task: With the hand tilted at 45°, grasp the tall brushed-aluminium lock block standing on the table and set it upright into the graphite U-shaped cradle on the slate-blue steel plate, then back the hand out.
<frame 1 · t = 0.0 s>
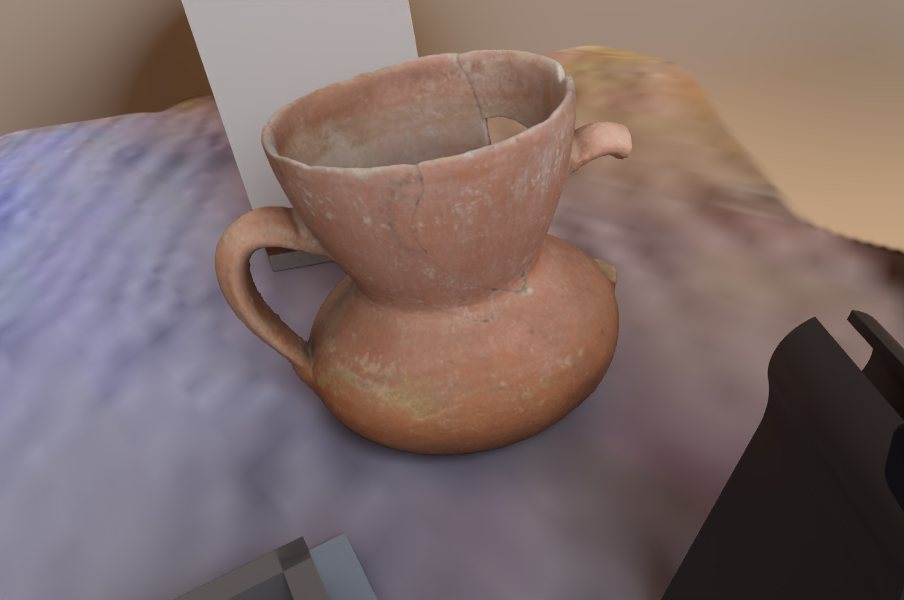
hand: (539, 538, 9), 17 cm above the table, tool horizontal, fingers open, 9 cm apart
ceramic jug: (457, 381, 37), on the table
display case: (362, 219, 52), on the table
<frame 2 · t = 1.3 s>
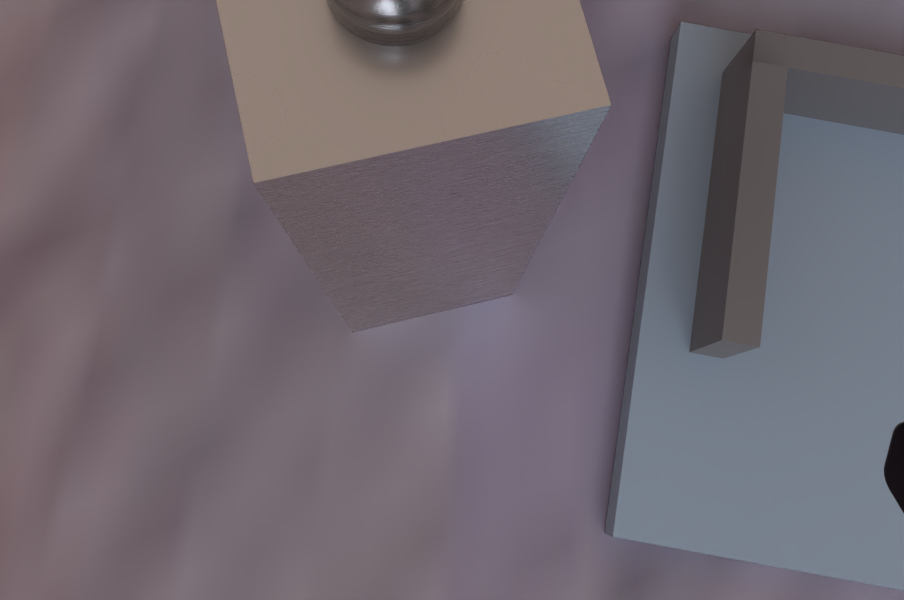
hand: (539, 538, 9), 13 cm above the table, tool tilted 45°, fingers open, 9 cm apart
coupler cradle: (846, 306, 23), on the table
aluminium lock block: (413, 236, 23), on the table
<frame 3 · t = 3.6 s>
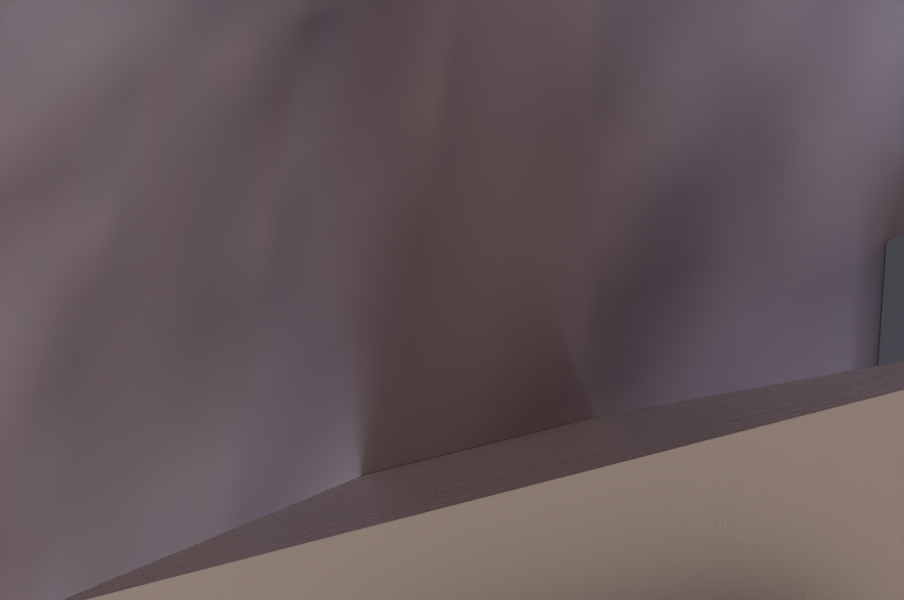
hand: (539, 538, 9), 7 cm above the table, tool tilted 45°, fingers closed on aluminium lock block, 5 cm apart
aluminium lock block: (510, 569, 15), on the table, touching gripper
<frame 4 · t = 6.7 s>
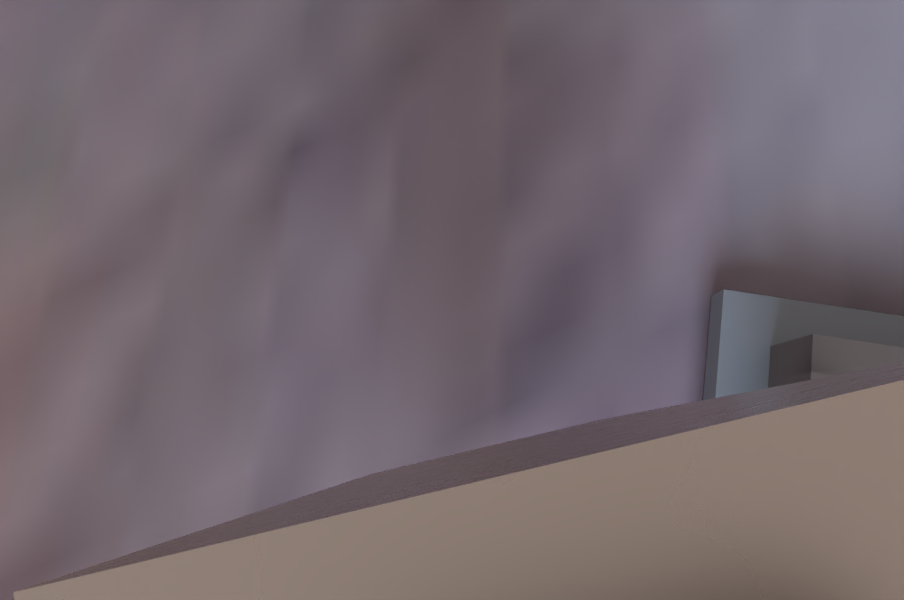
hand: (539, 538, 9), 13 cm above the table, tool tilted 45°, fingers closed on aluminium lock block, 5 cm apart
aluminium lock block: (518, 569, 15), point 7 cm above the table, touching gripper
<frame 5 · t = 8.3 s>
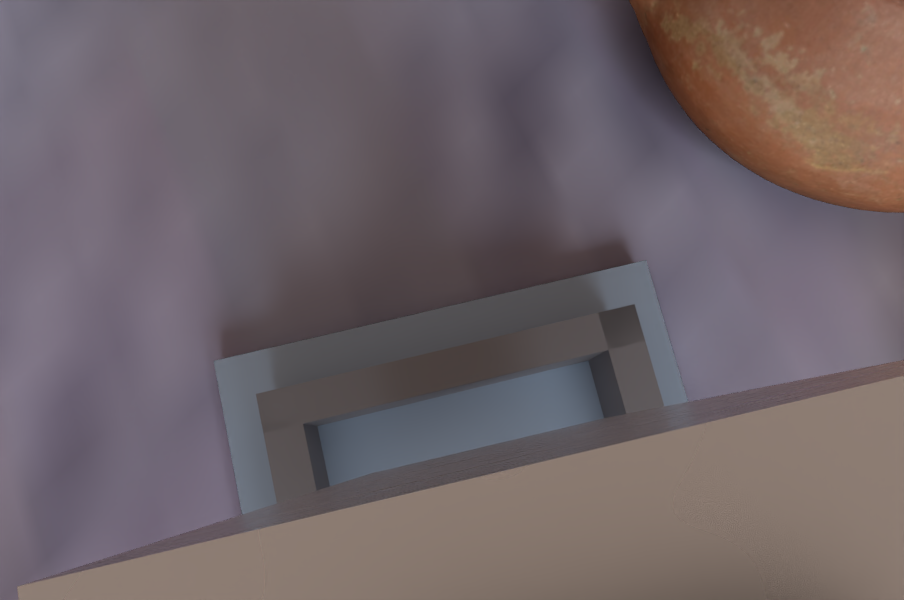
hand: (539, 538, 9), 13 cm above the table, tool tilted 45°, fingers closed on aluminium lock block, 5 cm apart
coupler cradle: (498, 582, 22), on the table
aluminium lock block: (518, 568, 15), point 7 cm above the table, touching gripper
ceramic jug: (808, 33, 26), on the table
when the fingers open (9 cm above the table, at t = 9.8 s): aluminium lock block drops 1 cm, resting on coupler cradle.
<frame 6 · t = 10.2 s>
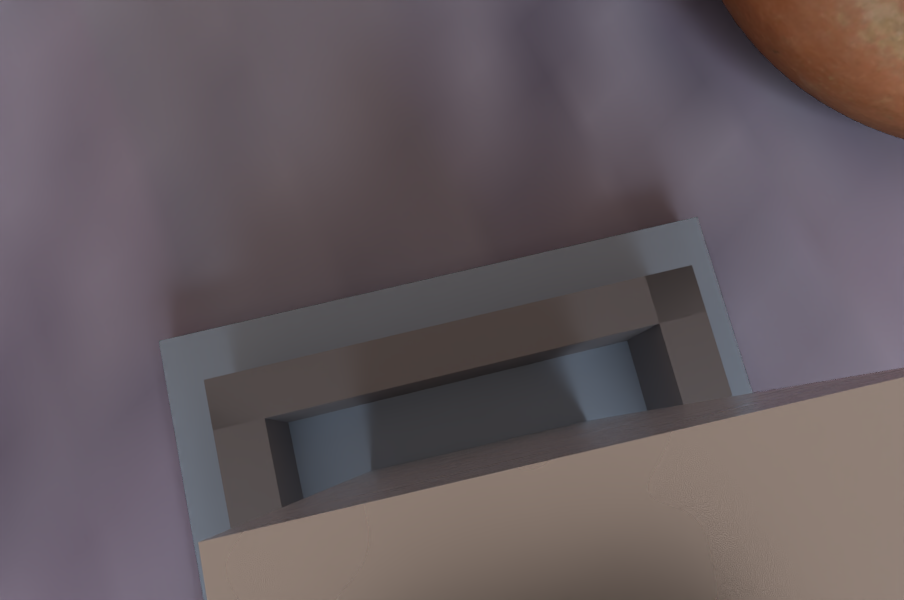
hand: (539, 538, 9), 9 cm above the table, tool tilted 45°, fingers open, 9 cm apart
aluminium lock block: (506, 558, 17), point 1 cm above the table, touching coupler cradle
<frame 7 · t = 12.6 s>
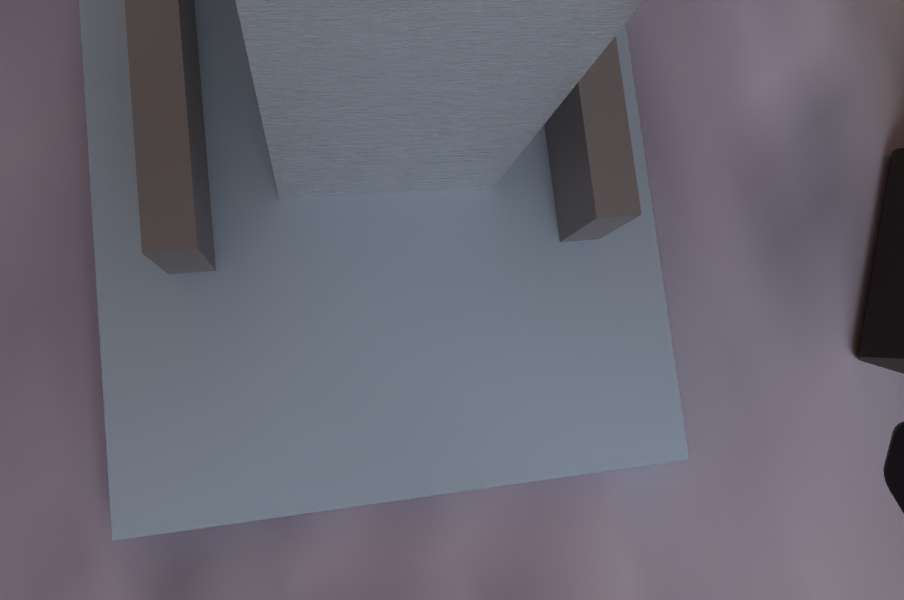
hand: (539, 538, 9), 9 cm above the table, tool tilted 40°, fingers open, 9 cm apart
coupler cradle: (380, 164, 19), on the table
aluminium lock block: (379, 90, 18), point 1 cm above the table, touching coupler cradle
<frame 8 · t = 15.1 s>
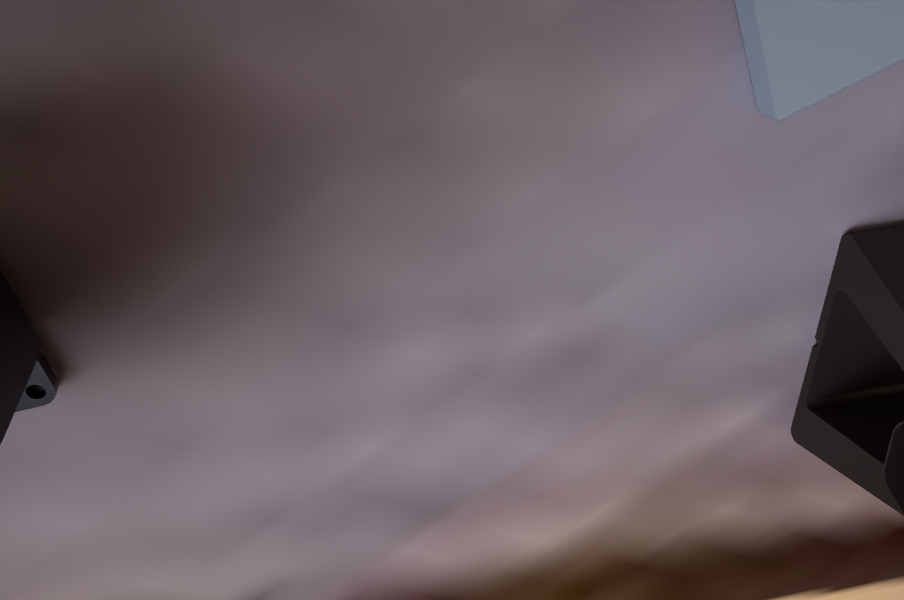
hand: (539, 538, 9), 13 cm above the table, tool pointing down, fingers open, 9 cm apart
door stopper: (886, 325, 27), on the table
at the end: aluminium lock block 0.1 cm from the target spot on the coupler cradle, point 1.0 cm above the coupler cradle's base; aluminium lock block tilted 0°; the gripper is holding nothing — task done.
